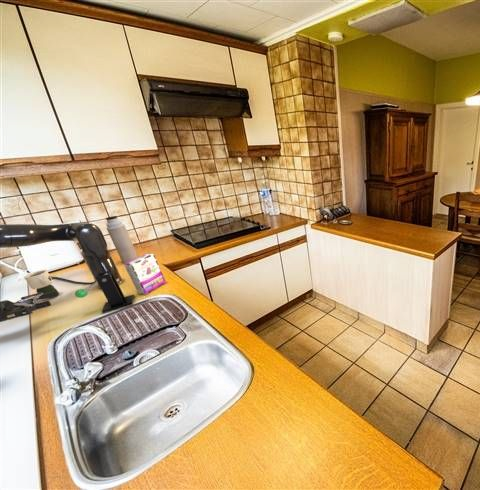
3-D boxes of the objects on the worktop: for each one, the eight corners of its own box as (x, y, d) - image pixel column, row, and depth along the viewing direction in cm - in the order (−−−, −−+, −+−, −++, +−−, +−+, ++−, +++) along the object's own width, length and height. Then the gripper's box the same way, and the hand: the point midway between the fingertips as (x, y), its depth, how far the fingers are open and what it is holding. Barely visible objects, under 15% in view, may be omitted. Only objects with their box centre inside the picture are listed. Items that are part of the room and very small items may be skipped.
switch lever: (79, 300, 109) (70, 295, 107) (82, 297, 112) (73, 291, 110) (111, 279, 113) (103, 274, 111) (113, 276, 116) (105, 271, 114)
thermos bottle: (133, 257, 168) (114, 214, 157) (142, 258, 165) (123, 215, 154) (119, 262, 161) (98, 218, 150) (128, 264, 158) (107, 219, 147)
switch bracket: (102, 313, 113) (85, 281, 107) (106, 304, 119) (90, 274, 113) (132, 304, 118) (117, 273, 112) (134, 296, 124) (120, 266, 118)
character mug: (65, 295, 128) (50, 272, 123) (43, 303, 123) (28, 279, 117) (56, 291, 133) (42, 268, 128) (35, 298, 127) (20, 275, 122)
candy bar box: (158, 281, 136) (146, 253, 129) (166, 282, 135) (154, 253, 128) (137, 294, 126) (122, 263, 119) (145, 294, 125) (131, 264, 118)
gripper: (-27, 315, 91) (42, 298, 99) (-5, 296, 102) (55, 282, 110) (-13, 332, 94) (52, 314, 102) (7, 312, 105) (64, 297, 113)
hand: (53, 298), depth 106 cm, fingers open, 8 cm apart
